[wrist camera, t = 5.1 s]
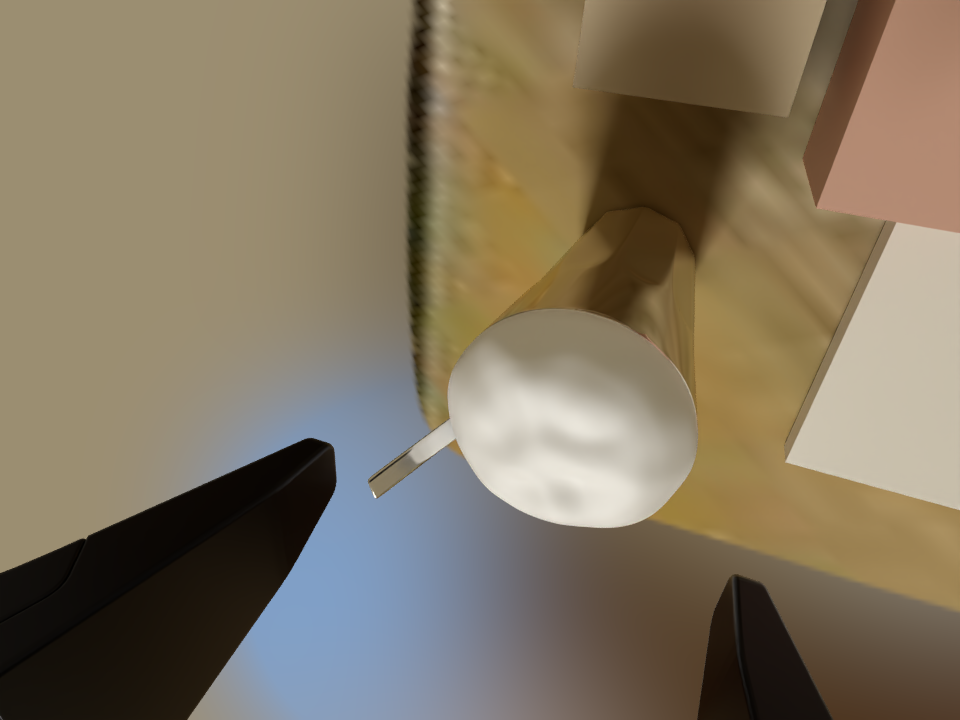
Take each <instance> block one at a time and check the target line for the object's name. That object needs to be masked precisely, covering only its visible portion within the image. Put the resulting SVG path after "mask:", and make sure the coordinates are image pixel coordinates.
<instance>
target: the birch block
mask: <svg viewBox="0 0 960 720" xmlns="http://www.w3.org/2000/svg"><path fill="white" fill-rule="evenodd" d="M826 1H827V0H585V6H584V13H583V20H582V27H581V34H580V41H579V48H578V55H577V62H576V69H575V76H574V83H573V87H574V88H581V89H588V90H596V91H603V92H610V93H617V94H624V95H631V96H638V97H645V98H652V99H659V100H666V101H673V102H680V103H687V104H694V105H701V106H708V107H715V108H722V109H729V110H737V111H744V112H751V113H758V114H765V115H772V116H779V117H786V118H788V116H789V113H790V110H791V107H792V104H793V101H794V98H795V95H796V92H797V89H798V86H799V83H800V80H801V77H802V74H803V71H804V68H805V65H806V62H807V59H808V56H809V53H810V50H811V47H812V43H813V40H814V37H815V34H816V31H817V28H818V25H819V22H820V19H821V16H822V13H823V10H824V7H825V4H826Z"/></svg>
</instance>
